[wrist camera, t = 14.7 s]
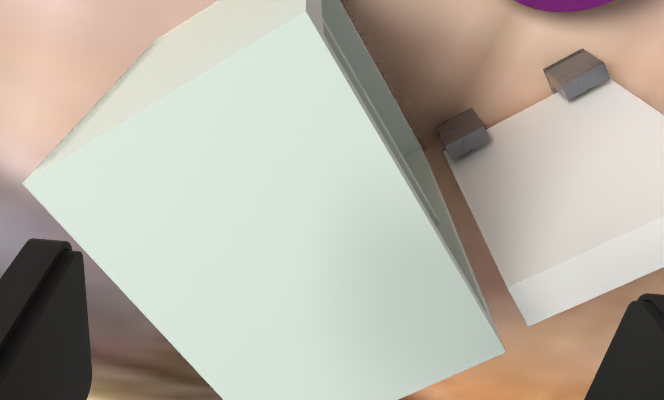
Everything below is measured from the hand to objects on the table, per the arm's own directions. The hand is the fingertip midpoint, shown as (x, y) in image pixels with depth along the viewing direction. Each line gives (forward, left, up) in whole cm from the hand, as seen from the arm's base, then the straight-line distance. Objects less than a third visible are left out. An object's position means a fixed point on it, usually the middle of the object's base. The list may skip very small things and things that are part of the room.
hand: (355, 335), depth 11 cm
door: (-7, +12, -26) cm, 30 cm away
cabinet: (+4, +3, -27) cm, 27 cm away
